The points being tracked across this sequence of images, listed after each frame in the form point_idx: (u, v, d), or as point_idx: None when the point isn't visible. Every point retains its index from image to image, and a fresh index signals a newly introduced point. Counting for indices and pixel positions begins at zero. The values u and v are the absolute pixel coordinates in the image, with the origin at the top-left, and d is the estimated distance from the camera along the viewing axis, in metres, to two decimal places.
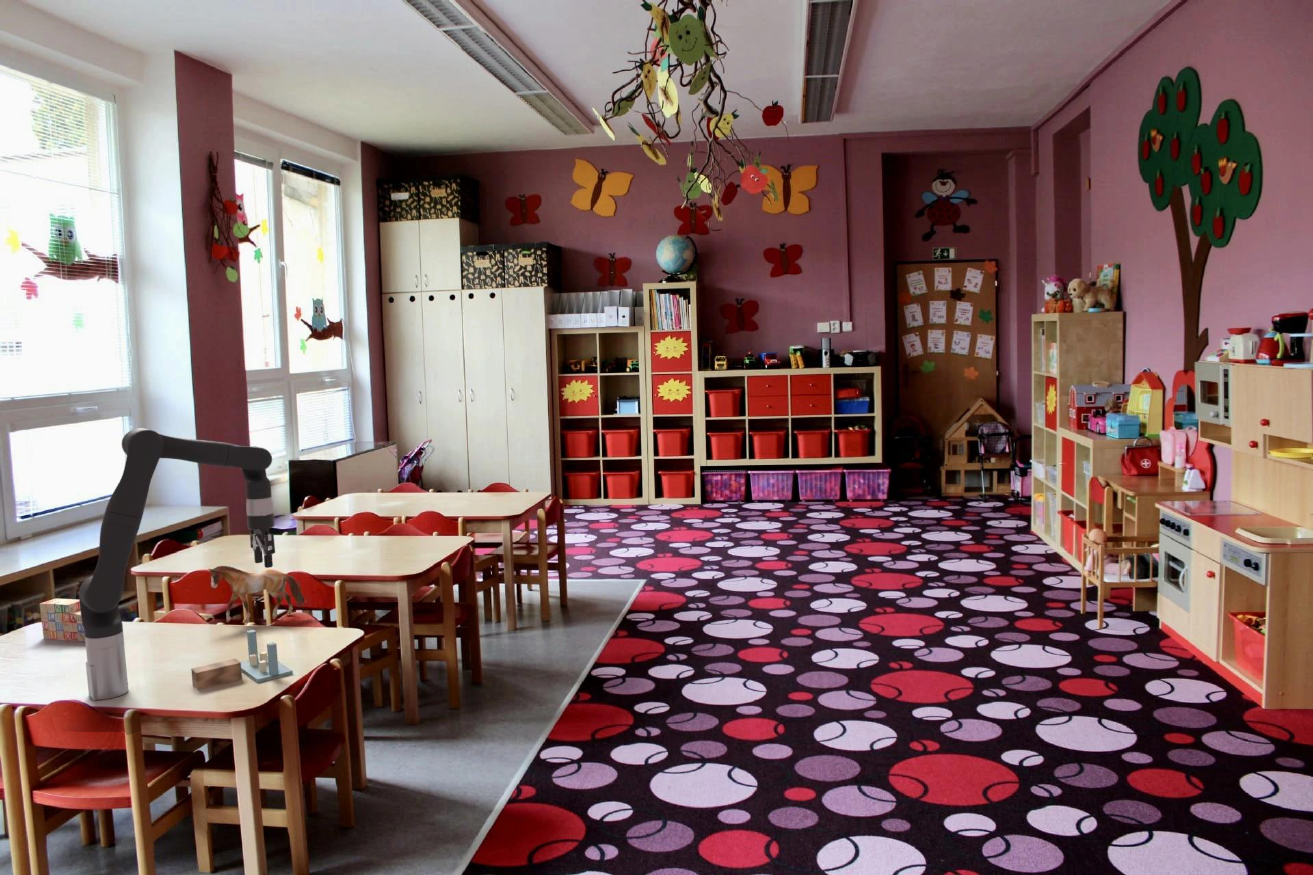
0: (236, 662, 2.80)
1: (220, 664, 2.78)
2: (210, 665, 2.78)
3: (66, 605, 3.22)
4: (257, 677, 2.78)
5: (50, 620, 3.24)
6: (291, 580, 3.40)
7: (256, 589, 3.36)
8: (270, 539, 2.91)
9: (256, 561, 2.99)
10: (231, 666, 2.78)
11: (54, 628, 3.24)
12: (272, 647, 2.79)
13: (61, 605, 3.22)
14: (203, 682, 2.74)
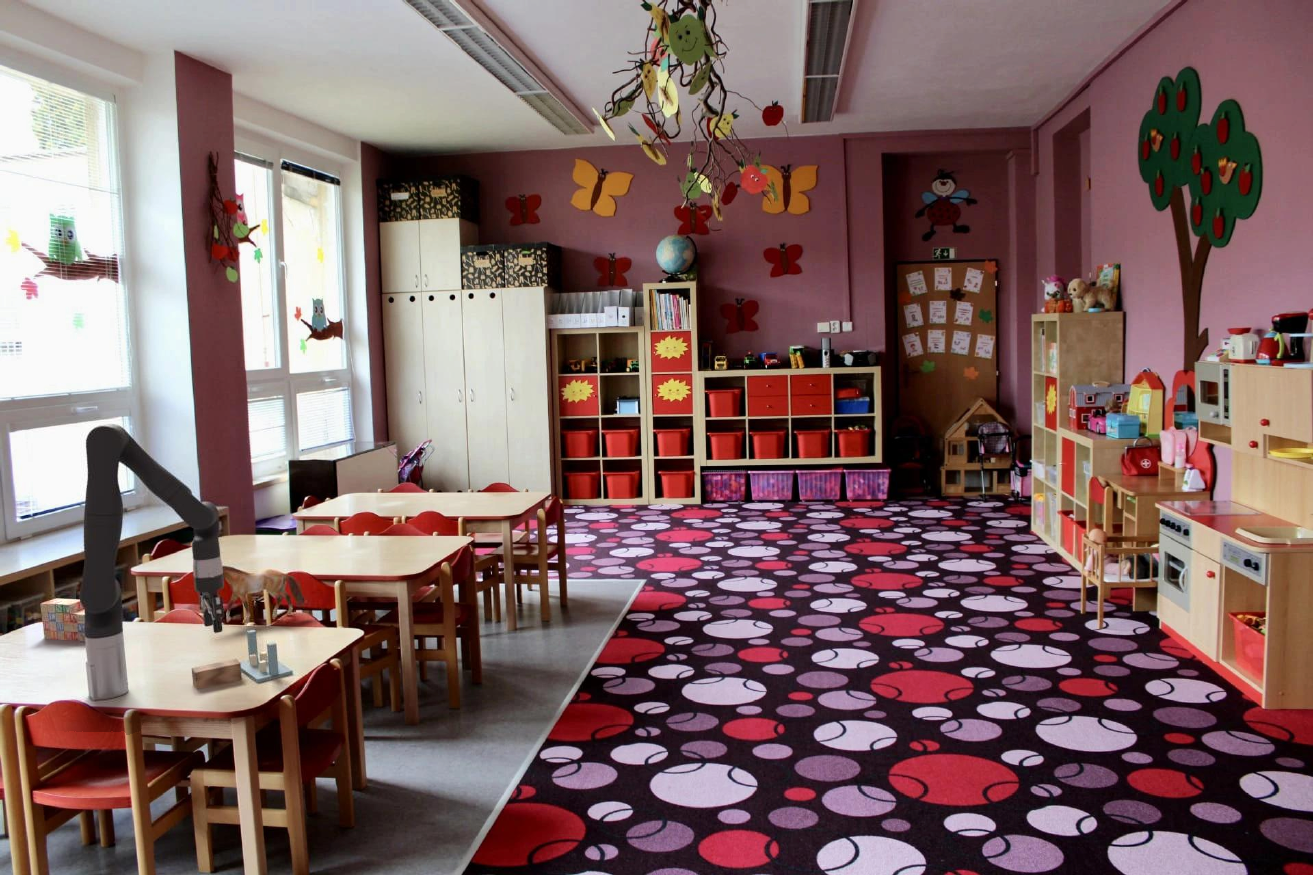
0: (236, 662, 2.80)
1: (220, 664, 2.78)
2: (210, 665, 2.78)
3: (67, 605, 3.22)
4: (257, 677, 2.78)
5: (51, 620, 3.24)
6: (291, 580, 3.40)
7: (256, 589, 3.36)
8: (218, 603, 2.71)
9: (206, 624, 2.79)
10: (230, 666, 2.78)
11: (55, 628, 3.24)
12: (272, 647, 2.79)
13: (62, 605, 3.22)
14: (202, 682, 2.74)
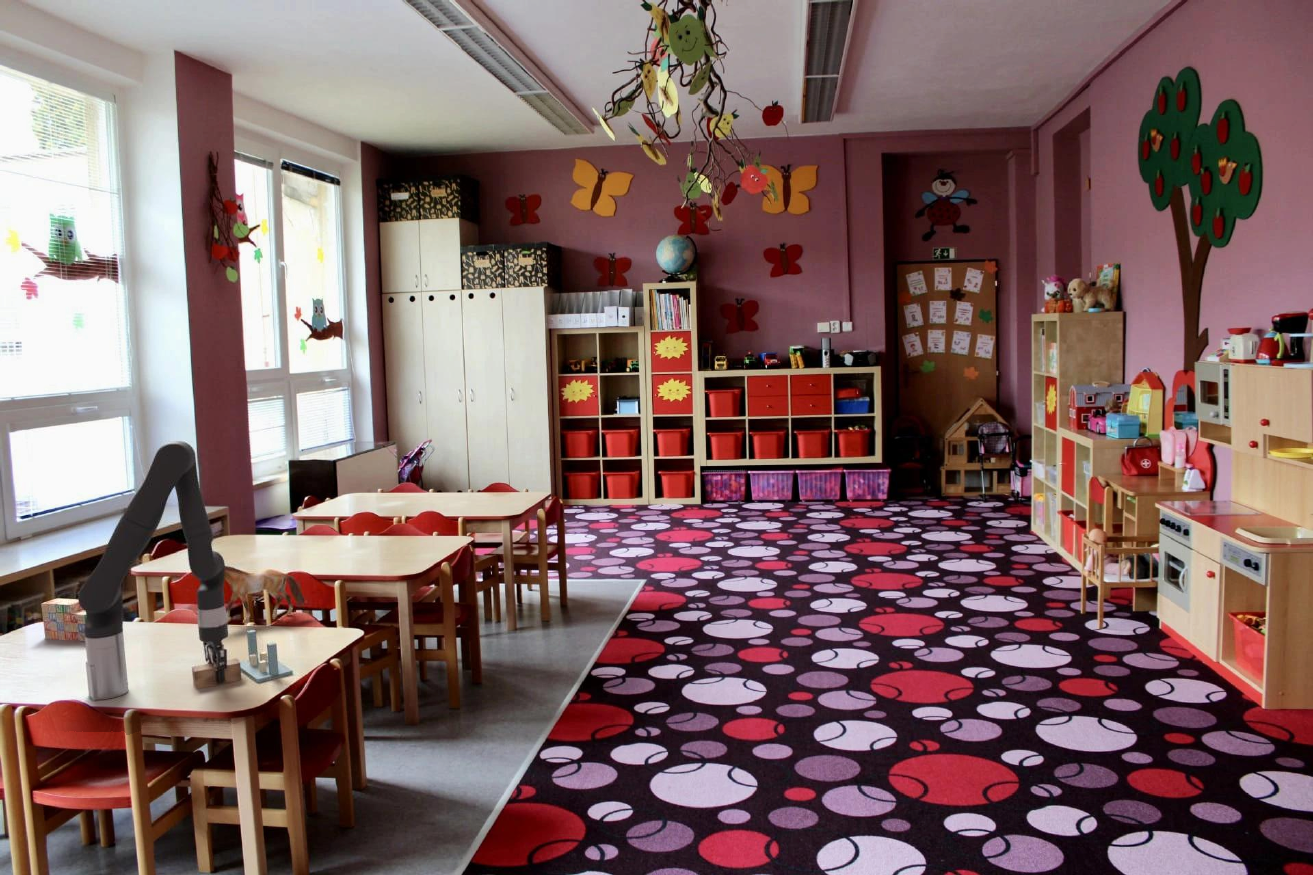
0: (236, 662, 2.80)
1: (220, 664, 2.78)
2: (210, 664, 2.78)
3: (67, 605, 3.22)
4: (257, 677, 2.78)
5: (52, 620, 3.24)
6: (291, 580, 3.40)
7: (256, 589, 3.36)
8: (222, 655, 2.73)
9: None
10: (230, 666, 2.78)
11: (56, 628, 3.24)
12: (272, 647, 2.79)
13: (62, 605, 3.22)
14: (201, 681, 2.74)
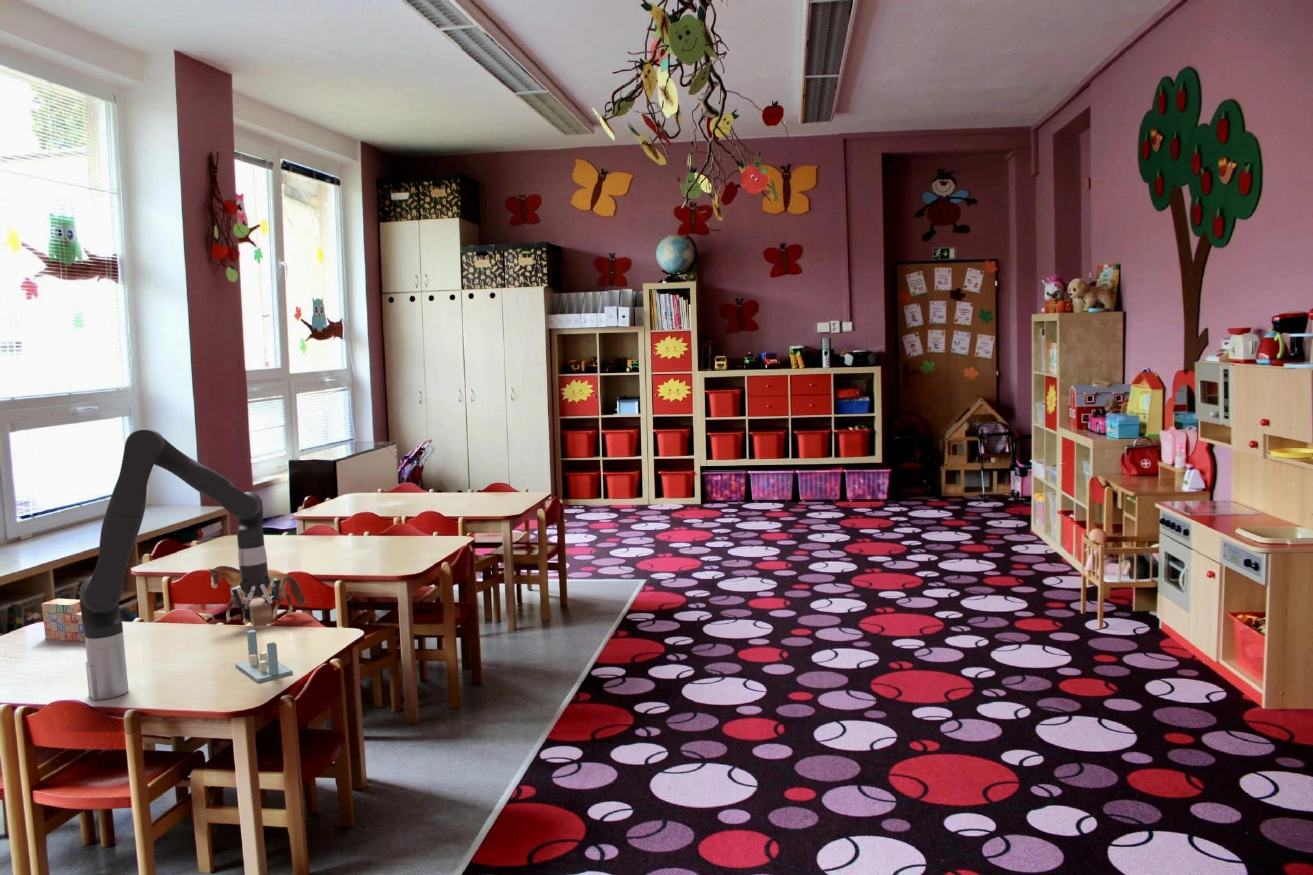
0: (256, 608, 2.79)
1: (256, 604, 2.83)
2: (260, 601, 2.85)
3: (67, 605, 3.22)
4: (257, 677, 2.78)
5: (52, 620, 3.24)
6: (291, 580, 3.40)
7: None
8: (233, 594, 2.79)
9: None
10: (250, 608, 2.80)
11: (56, 628, 3.24)
12: (272, 647, 2.79)
13: (62, 605, 3.22)
14: None
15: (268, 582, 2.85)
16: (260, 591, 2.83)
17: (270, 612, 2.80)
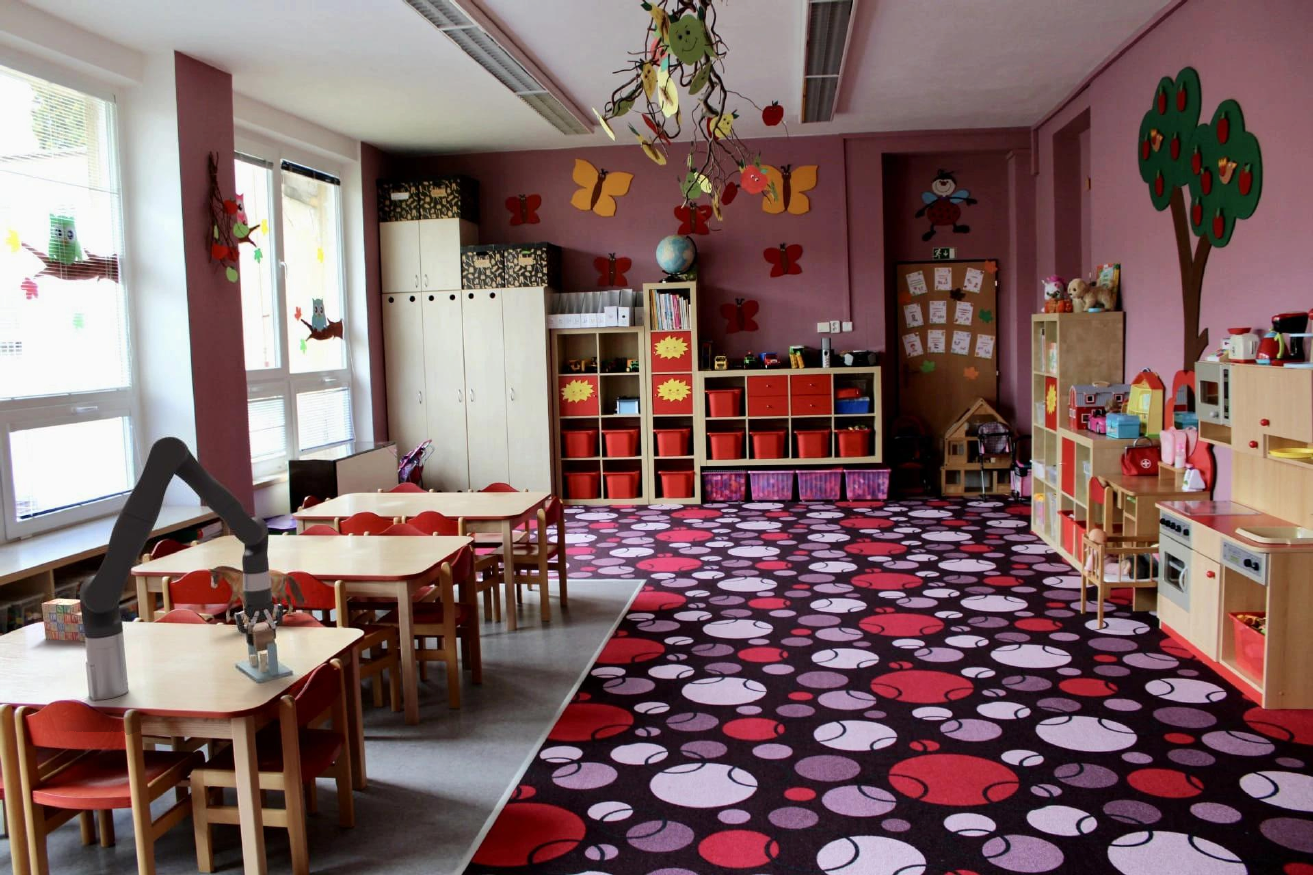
0: (259, 633, 2.81)
1: (260, 629, 2.85)
2: (264, 626, 2.87)
3: (67, 605, 3.21)
4: (257, 677, 2.78)
5: (52, 620, 3.24)
6: (291, 580, 3.40)
7: None
8: (236, 619, 2.81)
9: None
10: (253, 633, 2.81)
11: (56, 628, 3.24)
12: (272, 647, 2.79)
13: (63, 605, 3.22)
14: None
15: (272, 607, 2.86)
16: (264, 616, 2.85)
17: (273, 637, 2.82)
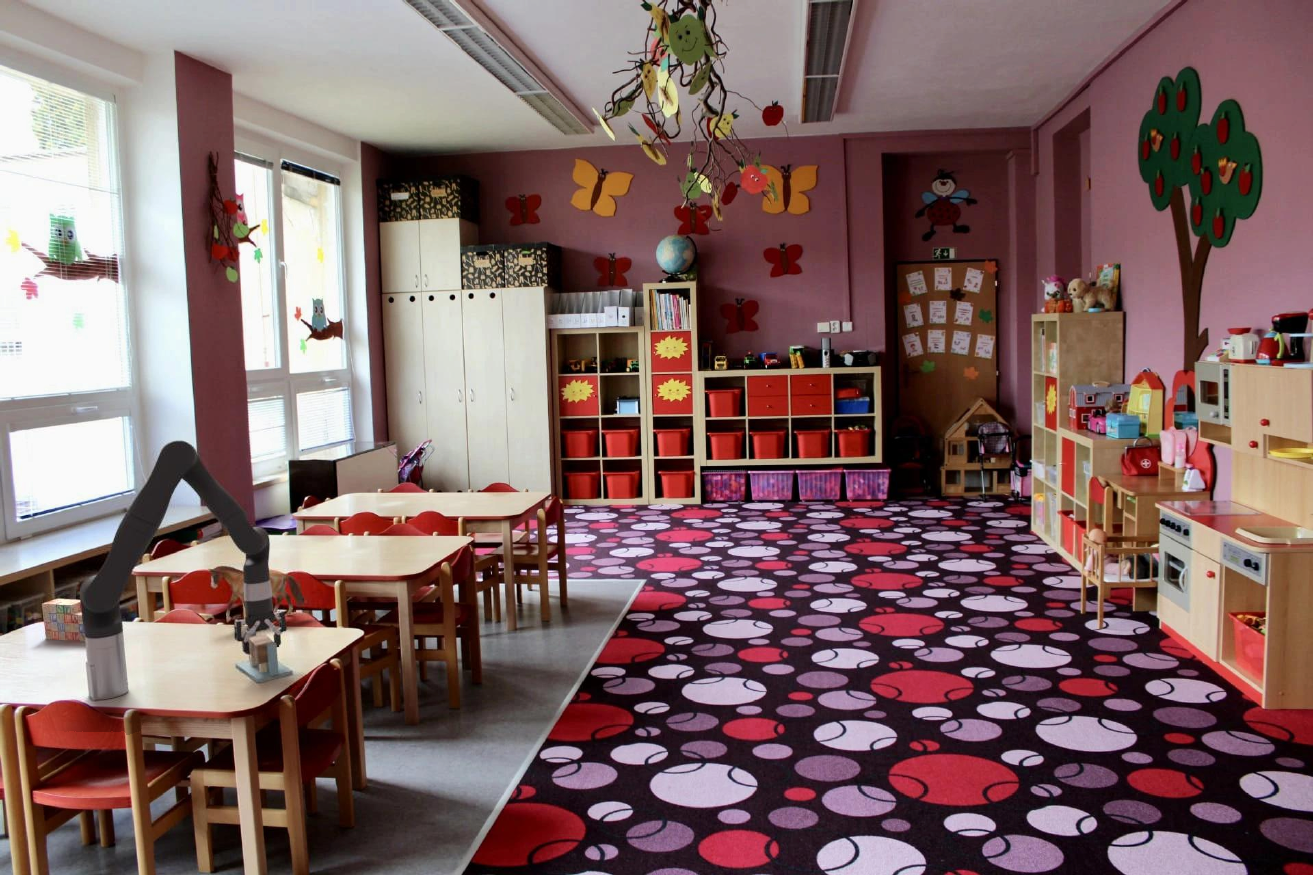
0: (260, 645, 2.81)
1: (261, 641, 2.85)
2: (265, 638, 2.88)
3: (68, 605, 3.21)
4: (257, 677, 2.78)
5: (52, 620, 3.24)
6: (291, 580, 3.40)
7: None
8: (236, 626, 2.81)
9: None
10: (255, 646, 2.82)
11: (56, 628, 3.24)
12: (272, 647, 2.79)
13: (63, 605, 3.22)
14: None
15: (273, 616, 2.87)
16: (266, 625, 2.86)
17: None
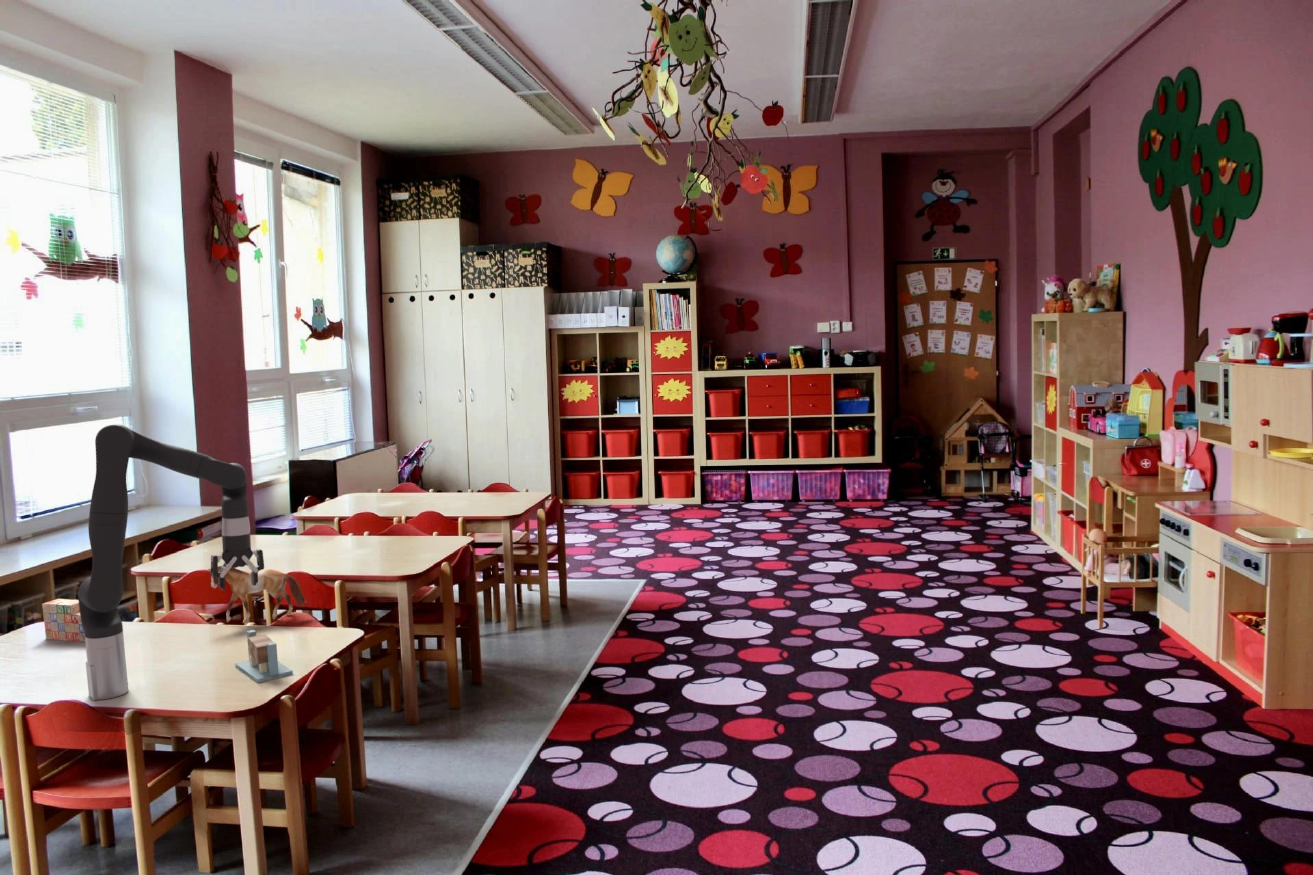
0: (260, 645, 2.81)
1: (261, 641, 2.85)
2: (265, 638, 2.88)
3: (68, 606, 3.21)
4: (257, 677, 2.78)
5: (53, 620, 3.24)
6: (291, 580, 3.40)
7: (256, 589, 3.36)
8: (212, 560, 2.79)
9: (251, 582, 2.87)
10: (255, 646, 2.82)
11: (56, 628, 3.23)
12: (272, 647, 2.79)
13: (63, 606, 3.22)
14: (249, 649, 2.89)
15: (250, 554, 2.84)
16: (243, 562, 2.83)
17: None
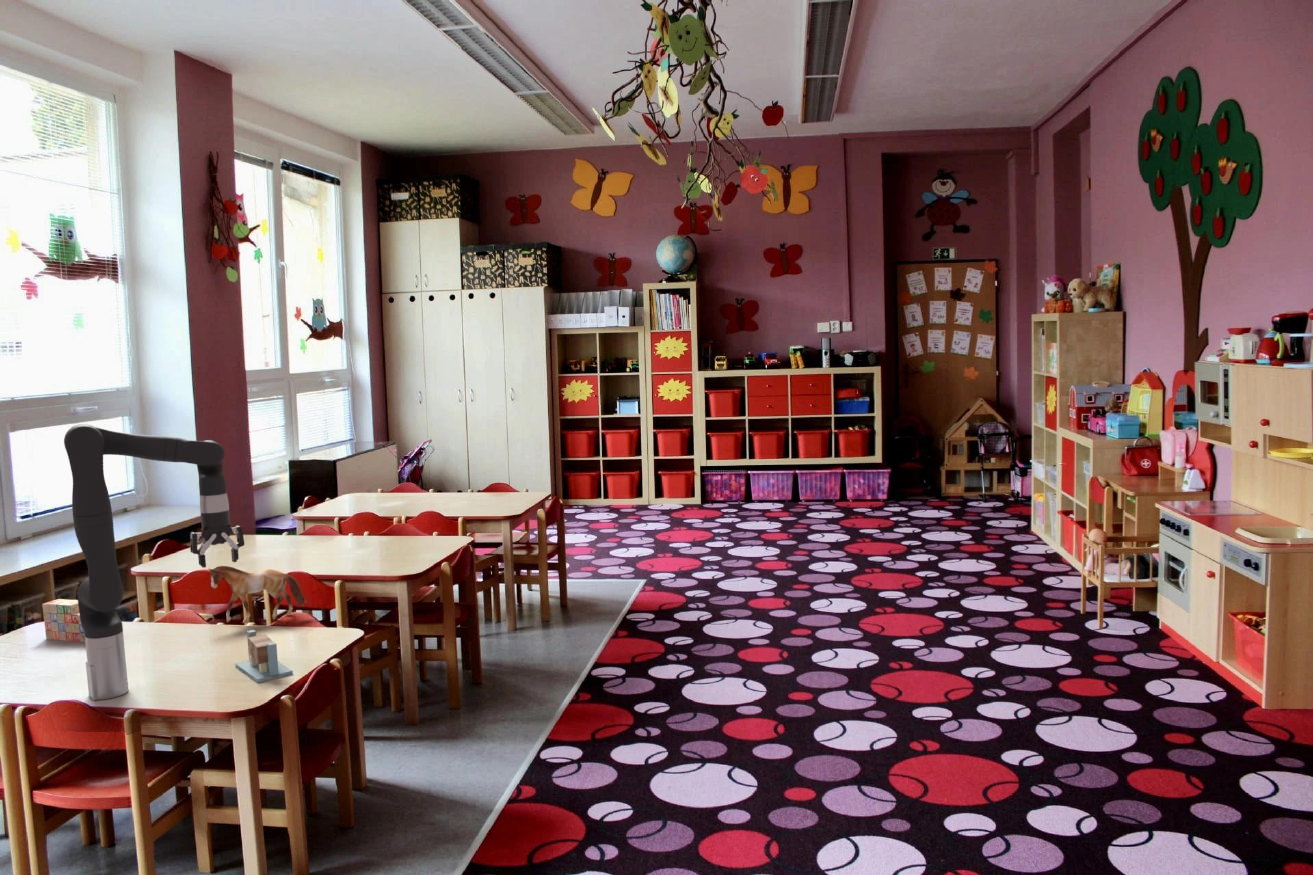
0: (260, 645, 2.81)
1: (261, 641, 2.85)
2: (265, 638, 2.88)
3: (68, 606, 3.21)
4: (257, 677, 2.78)
5: (53, 621, 3.24)
6: (291, 580, 3.40)
7: (256, 589, 3.36)
8: (191, 538, 2.78)
9: (232, 559, 2.87)
10: (255, 646, 2.82)
11: (57, 628, 3.23)
12: (272, 647, 2.79)
13: (63, 606, 3.21)
14: (249, 649, 2.89)
15: (230, 530, 2.84)
16: (223, 539, 2.83)
17: None
